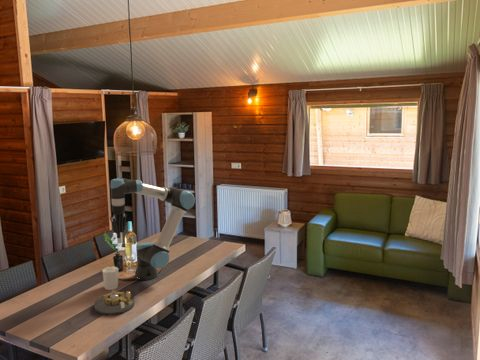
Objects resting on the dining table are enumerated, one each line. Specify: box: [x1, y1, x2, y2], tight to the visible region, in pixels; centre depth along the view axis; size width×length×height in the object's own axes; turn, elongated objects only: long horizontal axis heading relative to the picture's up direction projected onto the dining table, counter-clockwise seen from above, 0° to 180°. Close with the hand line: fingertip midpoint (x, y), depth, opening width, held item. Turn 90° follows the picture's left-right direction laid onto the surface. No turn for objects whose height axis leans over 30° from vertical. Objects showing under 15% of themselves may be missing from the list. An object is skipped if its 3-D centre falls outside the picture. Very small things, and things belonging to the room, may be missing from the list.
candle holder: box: [101, 266, 119, 291], centre depth 260 cm, size 10×10×12 cm
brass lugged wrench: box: [103, 289, 131, 306], centre depth 234 cm, size 17×11×7 cm, turn 67°
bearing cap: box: [93, 292, 135, 316], centre depth 235 cm, size 22×22×7 cm
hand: (120, 242), depth 248 cm, fingers closed
